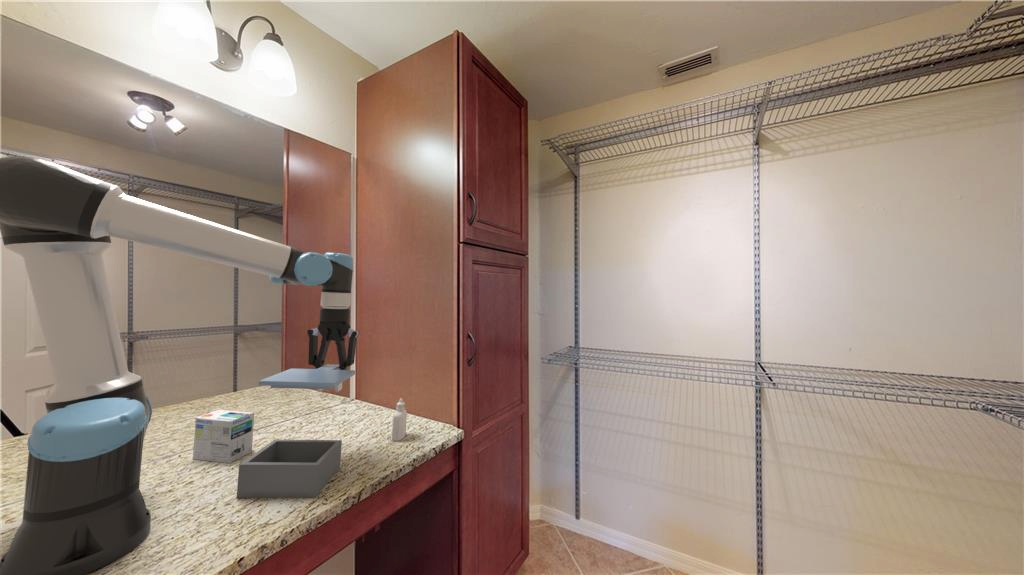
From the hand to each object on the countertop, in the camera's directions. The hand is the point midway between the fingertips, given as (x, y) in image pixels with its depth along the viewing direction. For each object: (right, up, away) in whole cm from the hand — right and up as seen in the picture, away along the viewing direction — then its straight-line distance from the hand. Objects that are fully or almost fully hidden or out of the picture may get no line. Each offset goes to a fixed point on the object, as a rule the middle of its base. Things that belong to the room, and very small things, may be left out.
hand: (329, 390), depth 91 cm
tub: (+1, -16, -16) cm, 23 cm away
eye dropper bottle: (+16, -18, +9) cm, 26 cm away
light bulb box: (-24, -15, -7) cm, 30 cm away
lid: (+1, +4, -8) cm, 9 cm away
